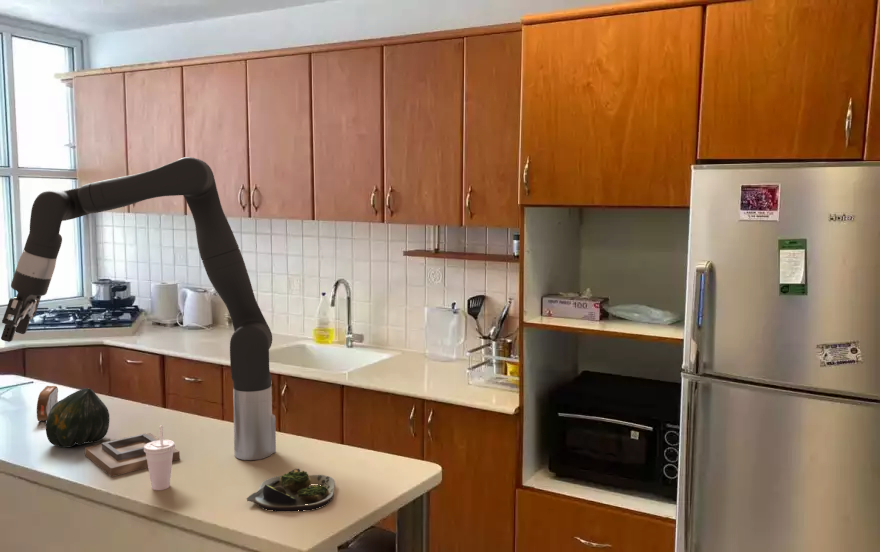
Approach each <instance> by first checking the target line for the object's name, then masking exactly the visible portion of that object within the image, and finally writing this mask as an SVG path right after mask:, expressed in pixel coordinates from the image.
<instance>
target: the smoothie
mask: <svg viewBox="0 0 880 552" xmlns="http://www.w3.org/2000/svg"><path fill="white" fill-rule="evenodd" d="M163 428H164V427H163V425H162V424H161V425H159V439H160V440H156V441H152V442H149V443H147V444H145V445H144V452H145V453H146V458H147V463H148V467H147V468H148V469H147V470H148V473H149V481H150V486H151V489H152V490H153V491H163V490H167V489H168V488H170V486H171V477H172V467H173V465H172V464H173V461H172V458H173V449H174V448H175V449H176V443H175V441H173V440H170V439H164V437H163V436H164V435H163V433H164V432H163V431H164V430H163Z"/></svg>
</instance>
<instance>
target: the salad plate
mask: <svg viewBox="0 0 880 552" xmlns="http://www.w3.org/2000/svg"><path fill="white" fill-rule="evenodd" d="M335 482H336V481H335V479H334V478H333V477H331V476H329V475H326V474H310V475H309V474H308V472H307V471H304V470H302V471H301V469H300V468H294V469H292V470H291V471H288V472H287V473H284V474H283V475H278V476H273V477H270V478H267V479H265V480H263V481H262V483H260V485H259V488H258V490H257V491H256V492H254V493H252V494H250V495H249V496H248V497H247V498H246V501H247V502H252V504H255V505H257V506H258V507H259V508H261V509H262V508H264V509H263V510H265V509H267V510H266V511H268V510H273V511H272V512H277V511H298V510H299V512H304V511H303V510H310V511H313V510H312V509H315V510H317V509H316V508H319V507H321V508H323V507H325V506H327V505H328V504H329V503H330V502H331V501H332V500H333V499H334V496H335V486H336V485H335V484H336V483H335ZM311 484H318V486H317V485H311ZM309 485H311V486H309ZM320 485H321V486H320ZM305 504H308V505H305ZM326 504H327V505H326ZM324 505H325V506H324ZM322 506H323V507H322ZM319 509H320V508H319Z"/></svg>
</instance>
